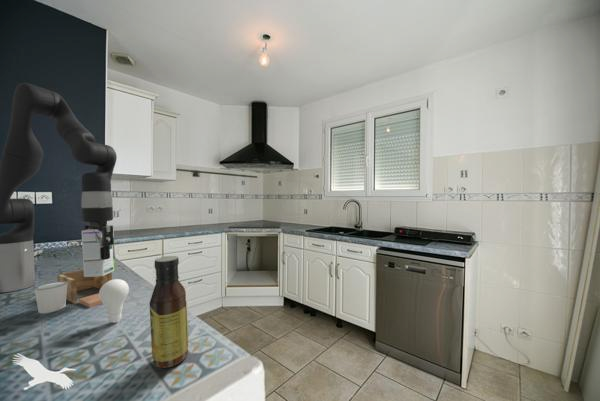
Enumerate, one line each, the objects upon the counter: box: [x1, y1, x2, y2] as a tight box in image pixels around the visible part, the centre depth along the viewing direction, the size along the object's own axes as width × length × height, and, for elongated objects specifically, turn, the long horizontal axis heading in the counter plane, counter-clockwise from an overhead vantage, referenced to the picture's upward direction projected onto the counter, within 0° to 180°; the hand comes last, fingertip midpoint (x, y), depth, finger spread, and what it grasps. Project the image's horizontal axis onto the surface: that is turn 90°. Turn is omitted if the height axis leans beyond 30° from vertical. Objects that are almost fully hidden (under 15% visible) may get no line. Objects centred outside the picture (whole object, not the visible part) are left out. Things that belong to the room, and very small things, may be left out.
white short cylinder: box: [34, 281, 68, 314], centre depth 71 cm, size 7×7×7 cm
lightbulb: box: [98, 278, 130, 324], centre depth 62 cm, size 6×6×11 cm
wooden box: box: [57, 269, 113, 304], centre depth 82 cm, size 13×10×7 cm
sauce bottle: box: [149, 255, 189, 369], centre depth 47 cm, size 6×6×20 cm
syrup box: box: [81, 229, 116, 277], centre depth 77 cm, size 6×6×14 cm
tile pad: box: [78, 292, 104, 309], centre depth 77 cm, size 8×8×1 cm
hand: (99, 257), depth 77 cm, fingers closed on syrup box, 7 cm apart
